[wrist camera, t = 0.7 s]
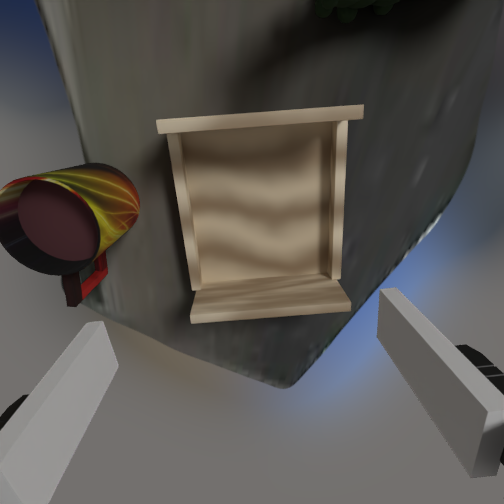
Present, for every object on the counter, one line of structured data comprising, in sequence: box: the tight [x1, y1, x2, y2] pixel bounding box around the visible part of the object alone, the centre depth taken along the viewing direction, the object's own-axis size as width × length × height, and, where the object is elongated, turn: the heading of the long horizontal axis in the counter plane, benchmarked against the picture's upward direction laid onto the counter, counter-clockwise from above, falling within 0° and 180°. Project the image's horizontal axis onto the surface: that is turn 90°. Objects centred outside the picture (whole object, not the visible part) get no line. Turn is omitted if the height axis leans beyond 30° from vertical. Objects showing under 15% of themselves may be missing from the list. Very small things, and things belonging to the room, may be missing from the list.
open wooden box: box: [156, 105, 364, 324], centre depth 36 cm, size 22×20×9 cm
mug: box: [0, 163, 140, 307], centre depth 34 cm, size 10×14×12 cm
